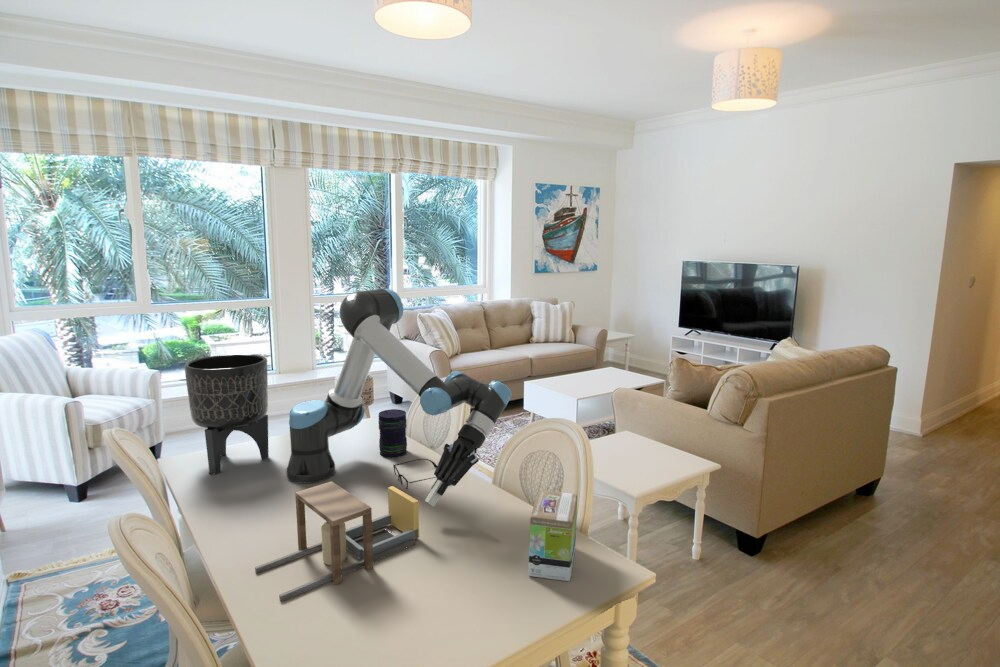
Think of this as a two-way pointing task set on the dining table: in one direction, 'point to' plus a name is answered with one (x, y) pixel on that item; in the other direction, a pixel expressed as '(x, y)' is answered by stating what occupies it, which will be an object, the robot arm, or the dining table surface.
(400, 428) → the dark blue cylinder
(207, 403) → the planter
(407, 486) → the eyeglasses
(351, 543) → the yellow panel grey frame
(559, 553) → the tea box
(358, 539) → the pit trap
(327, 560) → the candle
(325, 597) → the dining table surface
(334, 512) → the wooden stand with rails
